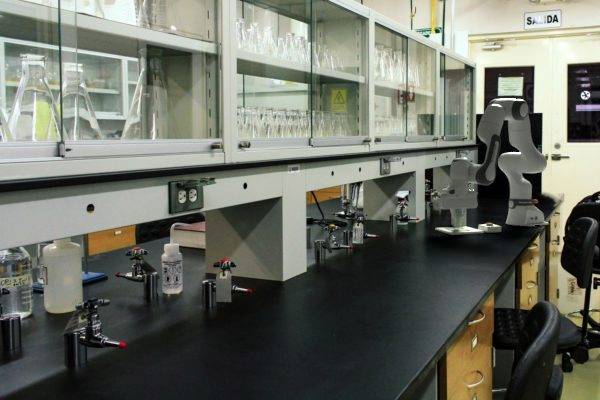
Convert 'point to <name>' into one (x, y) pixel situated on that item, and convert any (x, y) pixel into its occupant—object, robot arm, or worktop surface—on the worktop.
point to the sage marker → (458, 217)
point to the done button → (489, 224)
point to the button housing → (489, 228)
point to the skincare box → (463, 220)
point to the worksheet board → (459, 230)
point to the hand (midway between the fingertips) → (458, 217)
